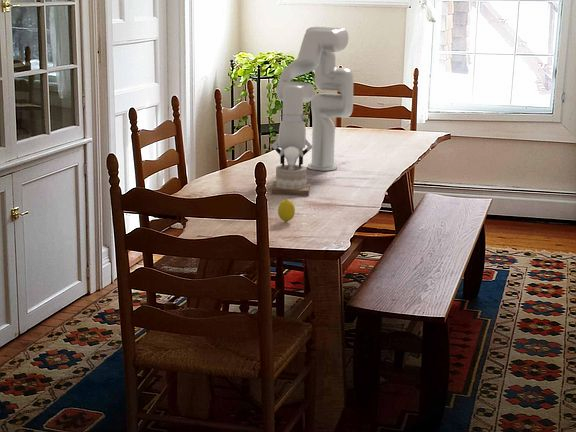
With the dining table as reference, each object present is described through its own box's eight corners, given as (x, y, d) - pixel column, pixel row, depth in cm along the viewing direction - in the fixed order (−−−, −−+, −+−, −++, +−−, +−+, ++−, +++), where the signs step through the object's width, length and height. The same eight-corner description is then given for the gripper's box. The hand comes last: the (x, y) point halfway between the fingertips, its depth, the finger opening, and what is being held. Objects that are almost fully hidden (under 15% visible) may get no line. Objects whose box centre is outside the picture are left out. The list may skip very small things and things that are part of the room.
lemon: (294, 220, 311) (294, 197, 309) (294, 224, 305) (295, 201, 303) (277, 220, 310) (278, 197, 308) (277, 224, 305) (278, 201, 303)
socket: (273, 186, 358) (274, 163, 356) (309, 187, 358) (310, 164, 355) (270, 194, 345) (271, 171, 343) (308, 196, 344) (309, 172, 342)
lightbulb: (285, 174, 346) (286, 145, 343) (281, 170, 352) (281, 142, 349) (301, 173, 348) (302, 144, 345) (297, 170, 353) (297, 141, 351)
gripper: (316, 117, 347) (314, 164, 352) (270, 116, 348) (269, 163, 353) (315, 120, 340) (314, 168, 345) (268, 119, 341) (267, 167, 346)
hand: (291, 165), depth 349 cm, fingers closed on lightbulb, 5 cm apart
